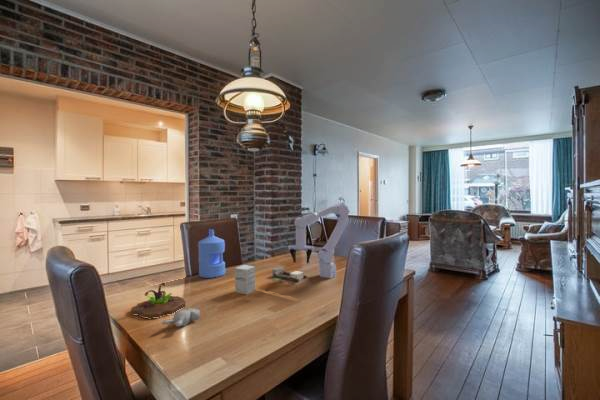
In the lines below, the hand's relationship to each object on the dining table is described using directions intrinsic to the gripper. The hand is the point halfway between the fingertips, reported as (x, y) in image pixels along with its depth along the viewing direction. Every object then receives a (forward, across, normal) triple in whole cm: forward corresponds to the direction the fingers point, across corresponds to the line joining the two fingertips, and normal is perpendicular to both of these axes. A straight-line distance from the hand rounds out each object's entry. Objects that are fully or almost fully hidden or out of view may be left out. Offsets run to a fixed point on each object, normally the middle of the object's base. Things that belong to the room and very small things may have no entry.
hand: (301, 262), depth 161 cm
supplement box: (+10, +23, +24) cm, 35 cm away
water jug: (+10, +56, +1) cm, 57 cm away
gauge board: (+10, +7, +2) cm, 13 cm away
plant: (+10, +51, +52) cm, 73 cm away
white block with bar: (+9, +3, +5) cm, 10 cm away
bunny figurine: (+10, +31, +62) cm, 70 cm away
